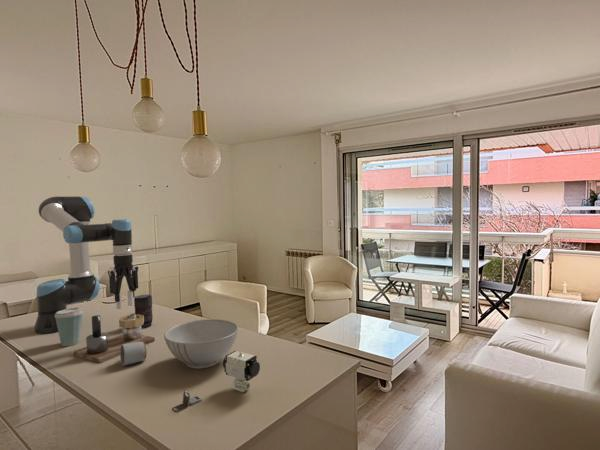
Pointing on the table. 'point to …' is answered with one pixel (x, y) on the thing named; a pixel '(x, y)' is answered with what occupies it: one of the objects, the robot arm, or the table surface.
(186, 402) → the strap clip
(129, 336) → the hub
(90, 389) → the table surface
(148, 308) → the camera lens
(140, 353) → the ceramic mug
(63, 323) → the disposable coffee cup
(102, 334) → the nail polish bottle
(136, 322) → the ring
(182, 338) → the decorative bowl
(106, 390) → the table surface
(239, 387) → the pneumatic valve
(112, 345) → the board
